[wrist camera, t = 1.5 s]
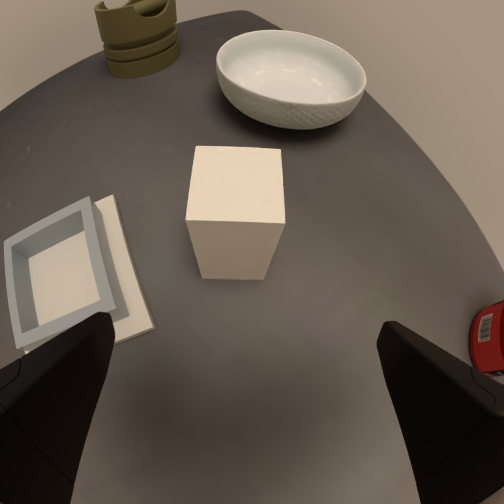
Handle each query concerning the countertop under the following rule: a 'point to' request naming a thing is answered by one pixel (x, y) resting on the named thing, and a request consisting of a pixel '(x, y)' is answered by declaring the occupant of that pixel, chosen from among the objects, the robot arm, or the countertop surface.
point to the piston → (139, 37)
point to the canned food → (488, 340)
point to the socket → (73, 275)
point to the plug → (235, 210)
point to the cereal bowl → (289, 78)
